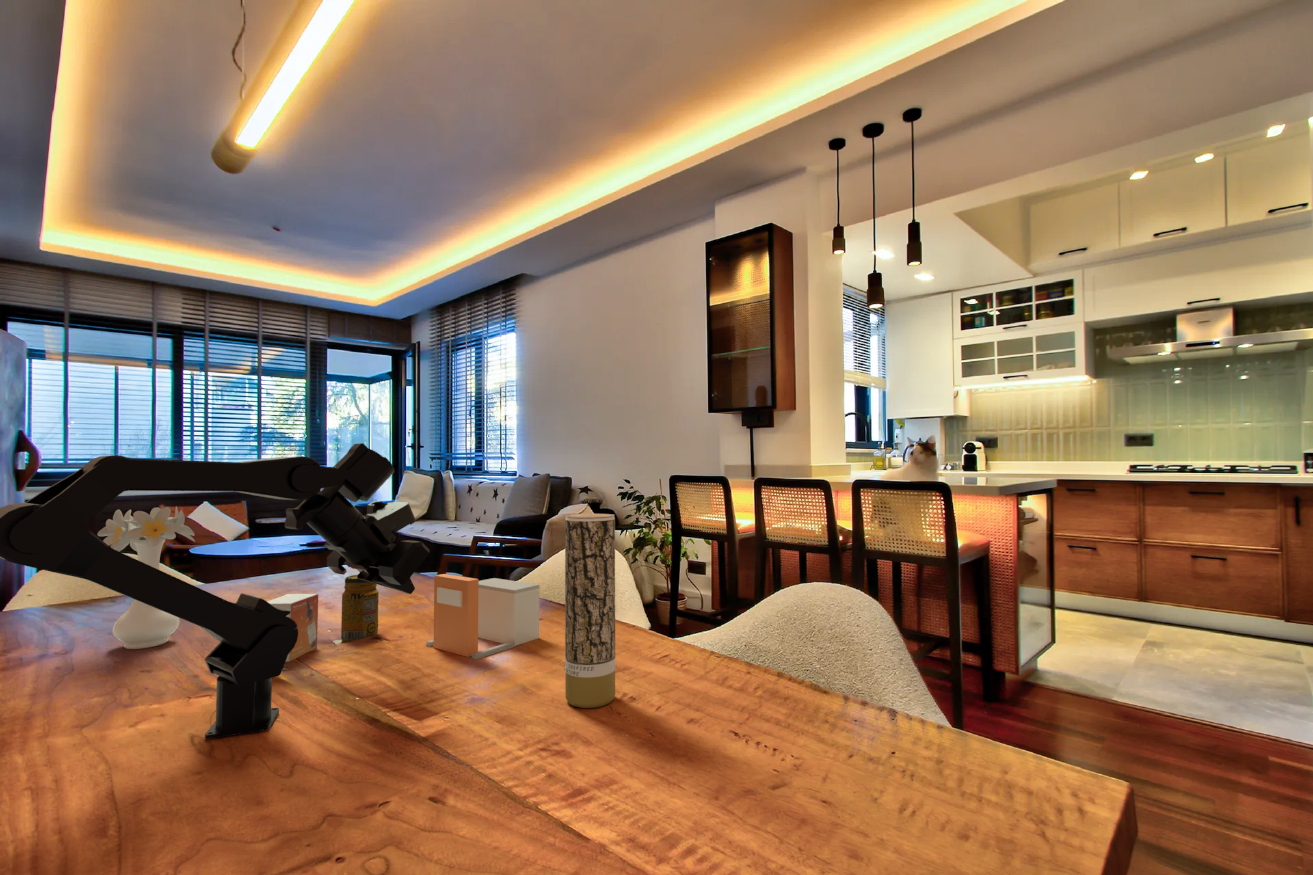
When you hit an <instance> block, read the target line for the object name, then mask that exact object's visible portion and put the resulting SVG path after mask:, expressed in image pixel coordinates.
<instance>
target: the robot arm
mask: <svg viewBox="0 0 1313 875" xmlns="http://www.w3.org/2000/svg"><path fill="white" fill-rule="evenodd" d="M394 473H395V468H394V465H393V464H392V463H391V461H390V460H389V459H388V458H387V457H386V456H383V455H381V454H380V453H378V452H377V451H375V450H373V449H372V448H368V447H367V446H366V444H365V443H363V442H361V443H354V444H353V445H352V446H351V447H350V448H349V449H348V451H347V452H346V453H345V455H344V456H343V457H341V459H340V460H339V461H337V462H336V464H335V465H333V466H322V465H320V464H319V463H318V462H317V460H316V459H314V458H312V457H309V456H303V455H302V456H278V457H270V458H269V457H268V458H261V459H259V458H258V459H253V460H246V461H236V462H235V461H214V460H213V461H212V460H211V461H209V460H188V459H187V460H184V459H166V458H165V459H163V458H162V459H160V458H159V459H157V458H139V457H138V458H137V457H136V458H135V457H128V456H124V455H118V454H116V455H114V454H113V455H103V456H102V455H101V456H98V457H94V458H92V459H90V460H89V461H88V462H87V463H85V465H84V466H82V467H81V468H80V469H78V470H76V471H75V472H73V473H72V474H70V475H68V476H66V477H65V478H63V479H61V480H59V481H58V482H56V483H54V484H53V485H51V486H48V487H47V488H45V489H44V490H43V491H41V492H39V493H38V494H36V495H35V496H33V497H31V498H30V499H28V500H26V502H19V503H13V504H7V505H4V506H2V507H0V559H1V560H5V561H7V562H10V563H13V564H15V565H21V566H24V567H29V568H34V569H39V570H42V571H46V572H51V573H56V574H60V575H64V576H65V575H66V576H70V577H73V578H79V579H84V580H86V581H89V582H90V583H94V584H96V585H99V586H101V587H103V588H106V589H108V590H111V591H113V592H116V593H119V594H120V595H122V596H125V597H127V598H129V599H132V600H134V599H135V600H137V601H139V602H142V603H144V604H147V605H149V606H151V607H154V608H156V609H159V610H161V611H164V612H166V613H168V614H171V615H173V616H176V617H178V618H179V619H181V620H183V621H186V622H188V623H191V624H193V625H196V626H198V627H200V628H201V629H203V630H204V631H205V632H207V633H208V634H209V635H211V636H212V637H213V638H215V639H216V641H219V642H218V644H217V645H216V646H215V647H214V648H213V650H211V651H210V653H208V654H207V656H206V657H205V659H204V661H205V664H206V666H207V669H208V670H209V673H210V674H212V675H213V674H215V675H217V676H218V677H217V678H216V697H215V698H216V700H215V705H216V706H215V721H214V722H213V724H211V726H210V727H209V728H208V729H207V731H206V732H205V733H204V738H205V739H214V738H222V737H228V736H235V735H242V734H243V735H244V734H249V733H250V734H252V733H258V732H265V731H267V730H269V729H270V728H271V726H272V725H273V723H274V721H275V719H276V718H277V716H278V714H279V713H280V708H279V707H272V698H273V697H272V690H273V688H272V687H273V678H276V677H279V676H281V675H282V672H283V670H282V669H283V667H284V668H285V664H286V662H285V661H286V659H287V656H288V654H289V653H290V652H291V650H292V649H293V648H294V646H295V644H296V642H297V638H298V629H297V627H298V626H297V624H296V622H295V621H294V620H292V619H291V618H289V617H286V616H287V615H289V614H290V613H291V612H290V611H288V610H284V609H281V608H277V607H274V606H272V605H271V604H270V603H268V602H267V601H268V600H265V599H263V598H262V597H257V596H254V595H250V594H247V593H240V594H239V596H238V598H237V601H236V602H232V601H228V600H227V599H225V598H222V597H219V596H217V595H215V594H213V593H211V592H209V591H206V590H205V589H202V588H200V587H198V586H195V585H194V584H191V583H190V582H187V581H184V580H182V579H180V578H178V577H176V576H173V575H171V574H170V573H167V572H165V571H163V570H160V569H159V570H158V569H156V568H154V567H152V566H149V565H147V564H145V563H143V562H141V561H138V559H136V558H134V557H131V556H129V555H128V554H125V553H123V552H121V551H116V550H114V549H113V548H111V547H110V546H111V545H109V546H108V545H107V544H106V543H105V542H103V540H102V539H101V538H100V537H99V536H98V535H96V534H95V533H94V532H92V531H91V530H90V529H89V528H87V527H86V526H84V525H85V524H87V523H88V522H90V521H91V520H92V519H94V517H96V516H97V515H98V514H99V513H100V512H101V511H102V510H103V509H105V508H106V507H107V506H108V505H109V504H110V503H111V502H112V501H113V500H114V499H116V498H117V497H118V496H120V495H121V494H122V493H124V492H129V491H135V492H137V491H139V492H141V491H142V492H144V491H145V492H147V491H148V492H150V491H151V492H152V491H153V492H155V491H156V492H157V491H158V492H161V491H162V492H170V491H171V492H236V493H241V494H246V495H251V496H255V497H256V496H258V497H262V498H263V497H264V498H269V499H274V500H287V501H288V500H289V501H302V502H300V504H299V505H298V506H297V507H295V508H286V509H285V514H286V515H285V516H286V518H285V522H284V527H285V529H290V530H302V529H303V527H305V525H306V524H307V525H308V526H309V528H311V529H312V530H313V531H314V532H315V533H317V535H319V536H320V537H321V538H322V539H323V540H324V541H325V543H324V547H326V548H327V549H328V550H330V551H331V550H332V551H331V553H330V554H329V555H328V556H327V557H326V567H328V569H330V570H331V571H332V572H333V573H334V574H337V575H342V576H344V575H345V574H346V573H347V568H345V567H344V565H346V566H347V567H348V568H350V569H354V570H356V571H358V572H359V573H358V574H356V575H357V578H358V579H361V580H365V581H368V582H371V583H375V584H377V586H382V587H385V588H388V589H391V590H395V591H398V592H401V593H404V594H408V595H412V594H413V593H414V591H415V589H416V588H415V587H416V586H415V585H414V583H413V581H412V578H411V577H412V576H413V575H414V573H415V572H416V571H417V569H418V568H419V567H420V566H421V564H422V563H423V562H424V561H425V559H426V558H427V557H428V555H429V554H430V548H428V546H426V545H425V544H424V542H422V541H418V540H411V539H408V540H407V539H406V540H399V541H398V542H397V543H394V541H395V540H396V538H397V536H396V535H395V533H397V532H399V531H401V530H402V529H404V528H406V527H408V526H409V525H413V524H415V523H416V521H417V519H416V518H415V517H416V516H415V515H414V512H413V510H412V508H411V505H410V503H409V502H408V501H393V502H387V503H384V502H383V501H381V500H373V501H371V502H370V503H368V504H366V514H364V515H363V513H361V512H360V511H359V510H358V509H357V508H356V507H355V505H353V504H352V502H353V503H356V502H358V501H363V502H368V501H369V500H370V499H371V498H372V496H374V494H376V493H377V491H378V490H379V489H380V488H381V487H382V485H384V484H385V483H386V481H387V480H389V478H390V477H391V476H392V475H394ZM321 489H322V490H321Z"/></svg>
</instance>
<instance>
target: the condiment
mask: <svg viewBox="0 0 1313 875" xmlns="http://www.w3.org/2000/svg"><path fill="white" fill-rule="evenodd" d="M357 575H358V574H353V575H349V576H347V577H345V578H344V591H343V593H342V594H341V596H342V597H341V622H340V623H341V624H340V626H341V628H340V630H341V631H340V632H341V634H340V637H341V638H340V639H335V640H332V642H333V643H334V644H335V645H336V646H337V645H341V644H345V643H351V642H353V641H359V640H362V639H366V638H371V637H375V636H378V632H379V591H378V589H377V586H378V584H375V583H371V582H368V581H365V580H361V579H358V578H357Z"/></svg>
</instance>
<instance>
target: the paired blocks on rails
mask: <svg viewBox="0 0 1313 875" xmlns="http://www.w3.org/2000/svg"><path fill="white" fill-rule="evenodd" d="M539 638H540V584H536V583H530V582H523V581H516V580H510V579H502V578H496V577H493V578H488V579H482V580H479V590H478V639H482V640H483V639H484V640H487V641H492V642H495V643H496V642H497V643H500V644H498V645H495V646H492V647H489V648H485V649H482V650H478V652H475V653H472V656H471V659H473V660H478V659H482V658H484V657H488V656H491V655H494V654H497V653H501V652H503V651H506V650H509V649H513V648H515V646H518V645H521V644H525V643H528V642H531V641H534V640H537V639H539ZM425 646H426V647H428V648H430V647H434V639H430V640H426V645H425Z"/></svg>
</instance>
